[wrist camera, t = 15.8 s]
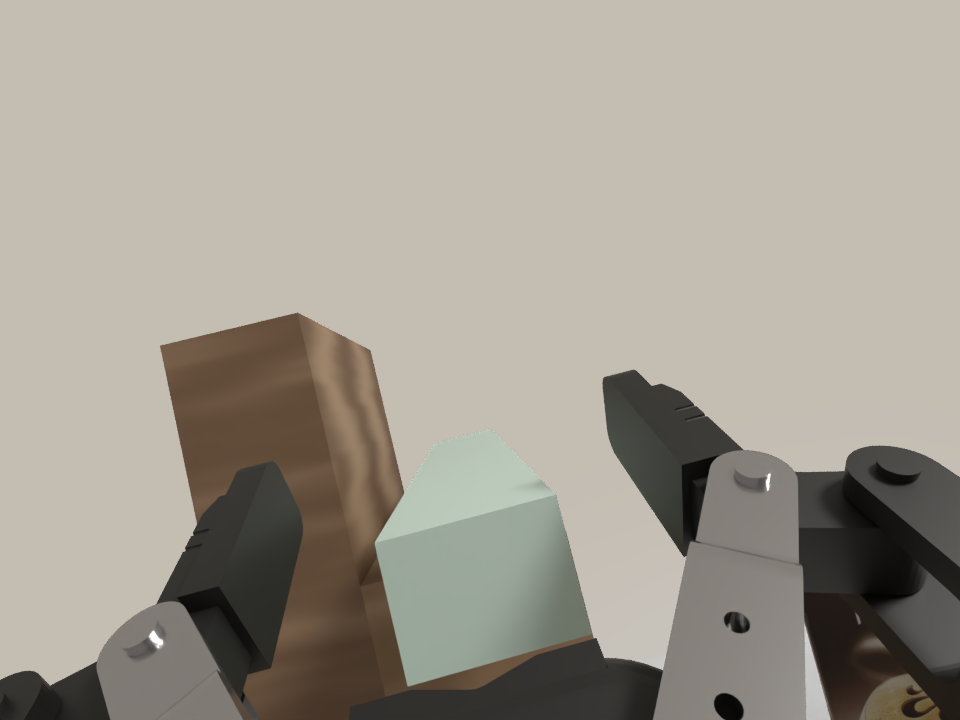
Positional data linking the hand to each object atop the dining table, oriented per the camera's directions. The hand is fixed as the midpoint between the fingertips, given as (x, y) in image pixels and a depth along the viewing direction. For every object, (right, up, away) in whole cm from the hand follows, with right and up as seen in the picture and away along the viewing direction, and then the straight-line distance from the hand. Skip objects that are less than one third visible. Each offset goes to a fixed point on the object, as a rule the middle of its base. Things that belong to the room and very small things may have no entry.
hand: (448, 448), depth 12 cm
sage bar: (+1, -5, +10) cm, 12 cm away
